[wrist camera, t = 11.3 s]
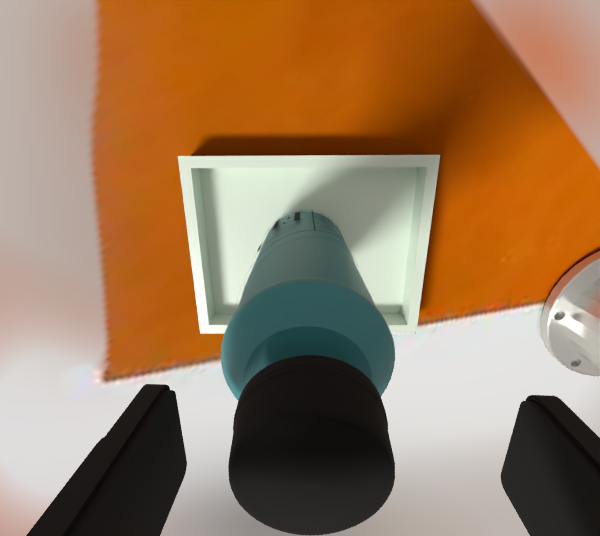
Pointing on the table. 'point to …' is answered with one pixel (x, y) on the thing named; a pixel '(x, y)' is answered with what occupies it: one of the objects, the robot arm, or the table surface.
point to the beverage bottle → (308, 384)
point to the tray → (312, 196)
